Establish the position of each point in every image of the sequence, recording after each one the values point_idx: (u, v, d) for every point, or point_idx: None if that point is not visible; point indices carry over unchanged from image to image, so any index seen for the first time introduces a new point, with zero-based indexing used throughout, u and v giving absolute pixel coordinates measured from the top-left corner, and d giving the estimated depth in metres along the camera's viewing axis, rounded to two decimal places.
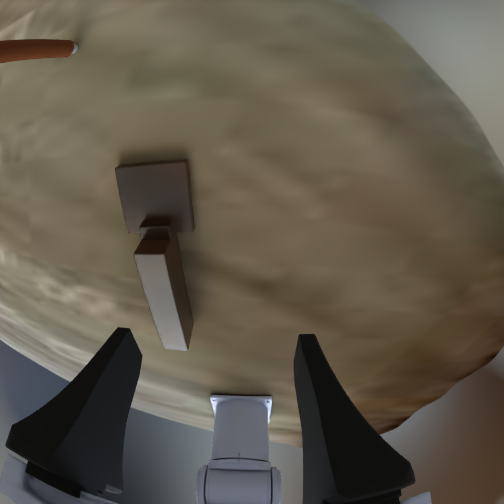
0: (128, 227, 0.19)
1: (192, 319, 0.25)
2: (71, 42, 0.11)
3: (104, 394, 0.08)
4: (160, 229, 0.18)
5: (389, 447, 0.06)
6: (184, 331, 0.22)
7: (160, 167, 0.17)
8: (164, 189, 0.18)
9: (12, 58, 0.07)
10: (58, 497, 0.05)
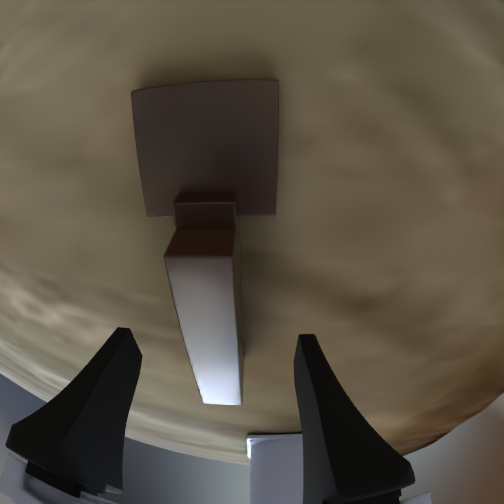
0: (148, 206, 0.10)
1: (243, 355, 0.16)
2: None
3: (104, 394, 0.08)
4: (217, 208, 0.09)
5: (389, 447, 0.06)
6: (241, 381, 0.13)
7: (225, 87, 0.08)
8: (230, 131, 0.09)
9: None
10: (58, 497, 0.05)
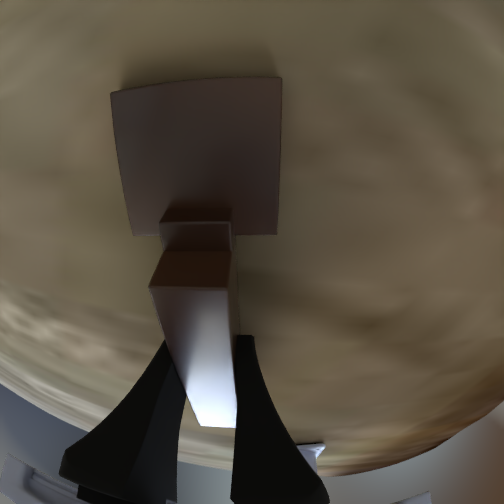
0: (133, 224, 0.09)
1: None
2: None
3: (164, 405, 0.08)
4: (210, 228, 0.08)
5: (302, 461, 0.06)
6: None
7: (219, 86, 0.07)
8: (224, 138, 0.08)
9: None
10: (58, 497, 0.05)
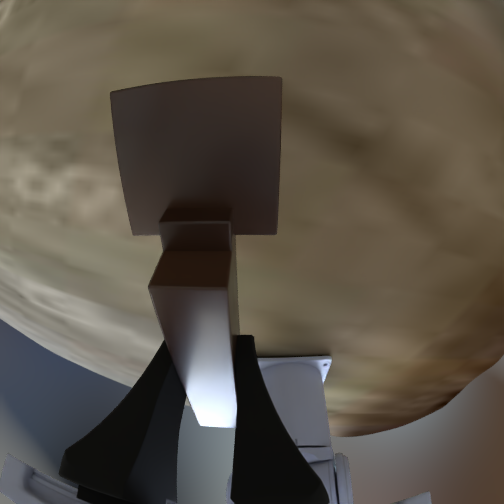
0: (133, 224, 0.09)
1: None
2: None
3: (164, 405, 0.08)
4: (210, 228, 0.08)
5: (302, 461, 0.06)
6: None
7: (218, 85, 0.07)
8: (224, 137, 0.08)
9: None
10: (58, 497, 0.05)
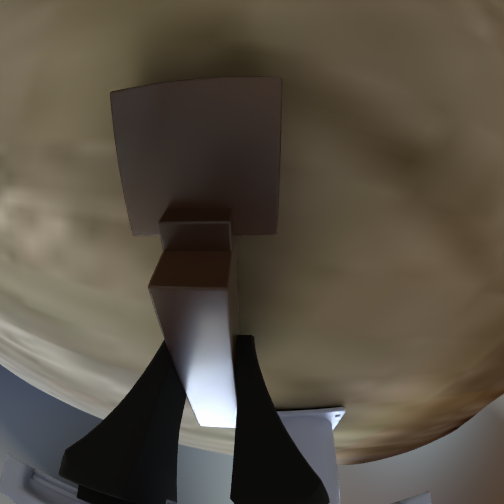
0: (133, 224, 0.09)
1: None
2: None
3: (164, 405, 0.08)
4: (210, 228, 0.08)
5: (302, 461, 0.06)
6: None
7: (218, 85, 0.07)
8: (224, 137, 0.08)
9: None
10: (58, 497, 0.05)
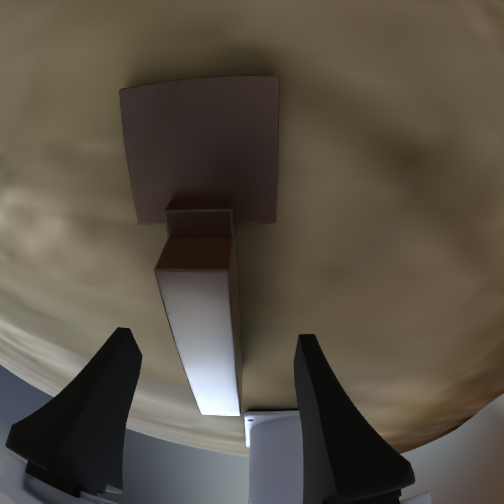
0: (139, 213, 0.10)
1: None
2: None
3: (104, 394, 0.08)
4: (212, 216, 0.09)
5: (389, 447, 0.06)
6: (239, 393, 0.12)
7: (221, 84, 0.07)
8: (226, 132, 0.08)
9: None
10: (58, 497, 0.05)
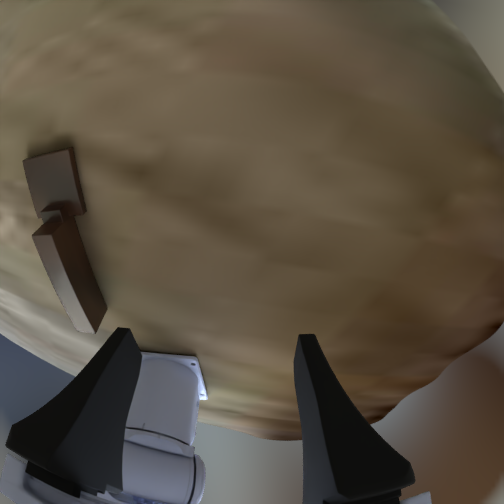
0: (37, 213, 0.18)
1: (105, 304, 0.23)
2: None
3: (104, 394, 0.08)
4: (54, 213, 0.17)
5: (389, 447, 0.06)
6: (88, 313, 0.20)
7: (51, 156, 0.15)
8: (57, 176, 0.16)
9: None
10: (58, 497, 0.05)
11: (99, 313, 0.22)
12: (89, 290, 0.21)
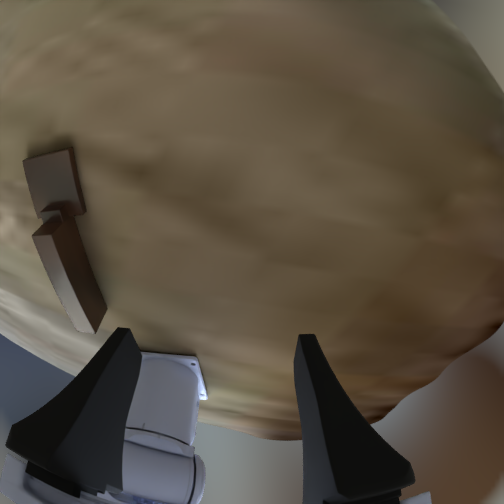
0: (37, 213, 0.18)
1: (105, 304, 0.23)
2: None
3: (104, 394, 0.08)
4: (54, 213, 0.17)
5: (389, 447, 0.06)
6: (88, 313, 0.20)
7: (51, 156, 0.15)
8: (56, 176, 0.16)
9: None
10: (58, 497, 0.05)
11: (99, 313, 0.22)
12: (89, 290, 0.21)
